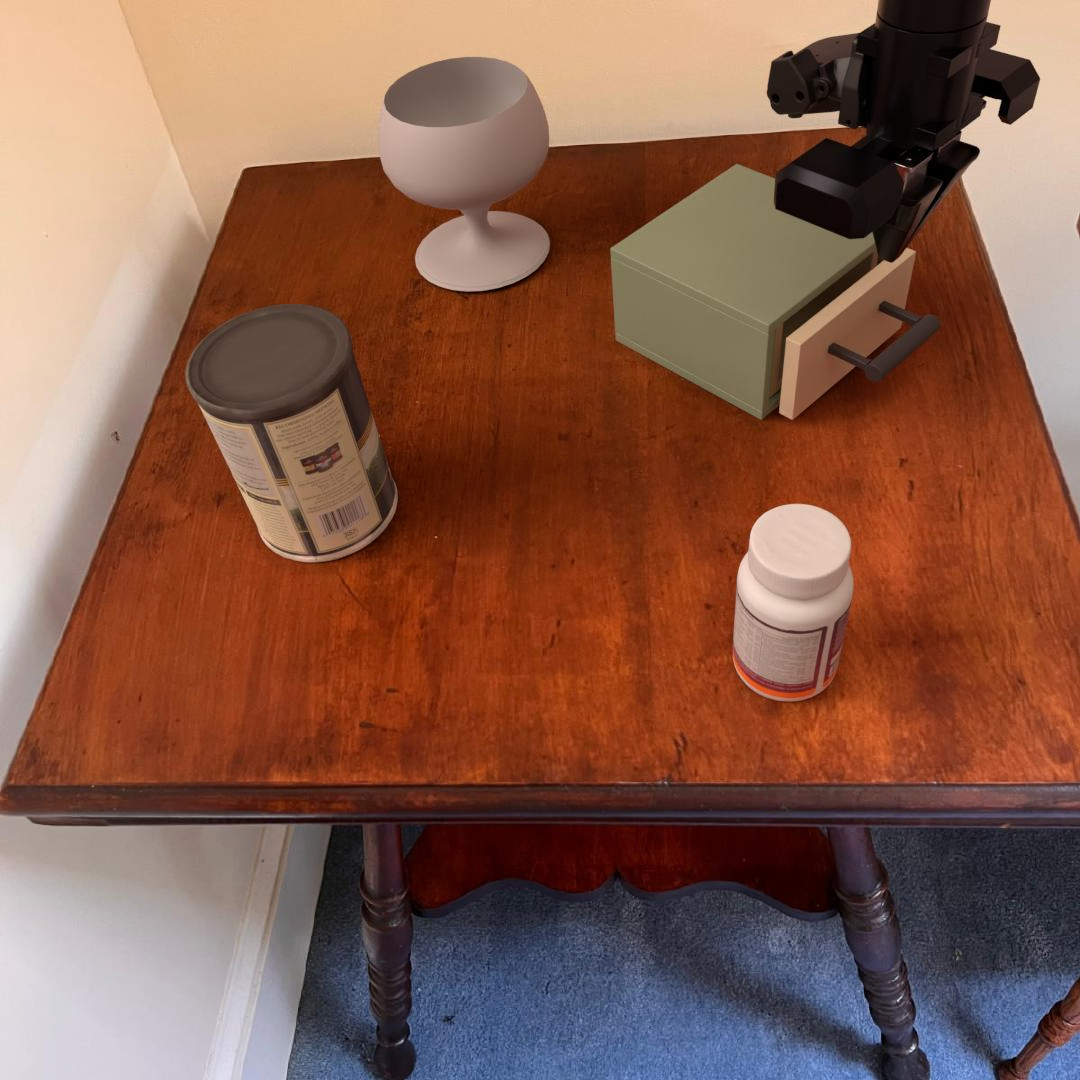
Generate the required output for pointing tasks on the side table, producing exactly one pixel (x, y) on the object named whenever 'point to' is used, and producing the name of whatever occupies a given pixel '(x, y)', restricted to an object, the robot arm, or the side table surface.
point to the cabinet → (724, 284)
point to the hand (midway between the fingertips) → (888, 258)
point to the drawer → (847, 332)
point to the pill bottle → (792, 602)
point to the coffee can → (296, 429)
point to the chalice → (468, 166)
